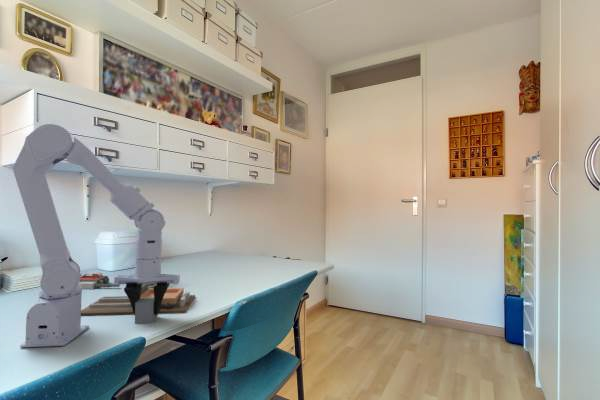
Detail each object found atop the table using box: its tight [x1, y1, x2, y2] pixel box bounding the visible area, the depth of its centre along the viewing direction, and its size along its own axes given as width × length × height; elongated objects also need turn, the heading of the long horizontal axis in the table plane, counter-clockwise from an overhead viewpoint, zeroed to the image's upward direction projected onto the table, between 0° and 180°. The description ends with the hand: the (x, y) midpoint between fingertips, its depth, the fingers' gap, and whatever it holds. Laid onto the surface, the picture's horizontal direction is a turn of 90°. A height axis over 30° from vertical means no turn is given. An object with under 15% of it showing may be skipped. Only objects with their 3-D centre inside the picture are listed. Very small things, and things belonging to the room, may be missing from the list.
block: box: [134, 297, 159, 325], centre depth 75 cm, size 4×4×5 cm
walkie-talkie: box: [78, 271, 121, 290], centre depth 104 cm, size 9×4×20 cm
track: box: [81, 290, 196, 317], centre depth 85 cm, size 14×26×3 cm, turn 99°
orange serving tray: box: [130, 284, 185, 309], centre depth 86 cm, size 12×11×4 cm
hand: (146, 313), depth 75 cm, fingers closed on block, 4 cm apart
